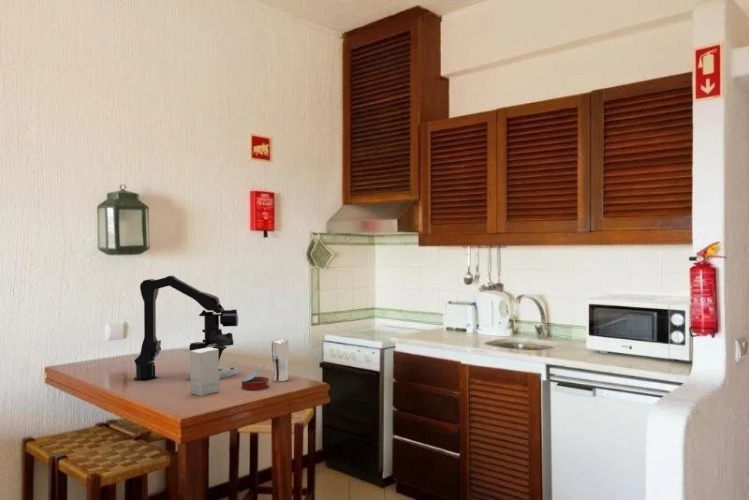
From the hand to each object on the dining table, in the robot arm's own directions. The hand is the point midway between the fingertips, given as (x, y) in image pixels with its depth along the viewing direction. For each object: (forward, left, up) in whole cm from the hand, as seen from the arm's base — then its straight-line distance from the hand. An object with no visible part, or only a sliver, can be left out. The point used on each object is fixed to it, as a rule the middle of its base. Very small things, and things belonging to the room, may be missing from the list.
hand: (212, 365), depth 241 cm
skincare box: (-21, -19, -5) cm, 29 cm away
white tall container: (+8, -29, -5) cm, 31 cm away
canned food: (-6, -29, -5) cm, 30 cm away
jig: (0, 0, -4) cm, 4 cm away
